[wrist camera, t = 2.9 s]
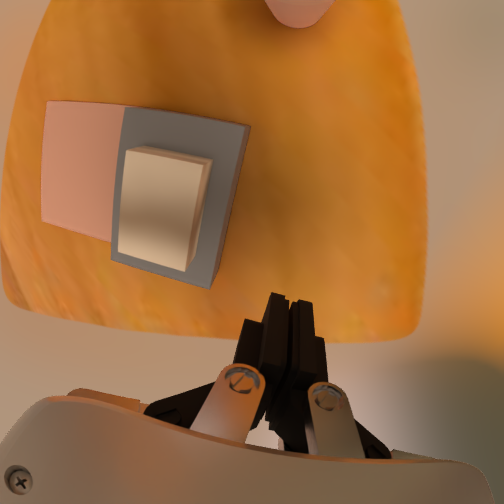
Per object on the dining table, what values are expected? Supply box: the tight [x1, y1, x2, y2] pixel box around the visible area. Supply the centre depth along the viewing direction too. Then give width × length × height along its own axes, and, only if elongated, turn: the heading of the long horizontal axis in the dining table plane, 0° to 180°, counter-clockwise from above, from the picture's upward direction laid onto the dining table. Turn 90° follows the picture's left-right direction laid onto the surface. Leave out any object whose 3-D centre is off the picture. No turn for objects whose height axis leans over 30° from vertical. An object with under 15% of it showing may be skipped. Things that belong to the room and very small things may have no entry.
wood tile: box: [118, 146, 213, 272], centre depth 19 cm, size 7×5×2 cm
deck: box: [111, 107, 251, 290], centre depth 22 cm, size 12×8×3 cm
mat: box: [41, 101, 138, 243], centre depth 23 cm, size 12×10×1 cm
